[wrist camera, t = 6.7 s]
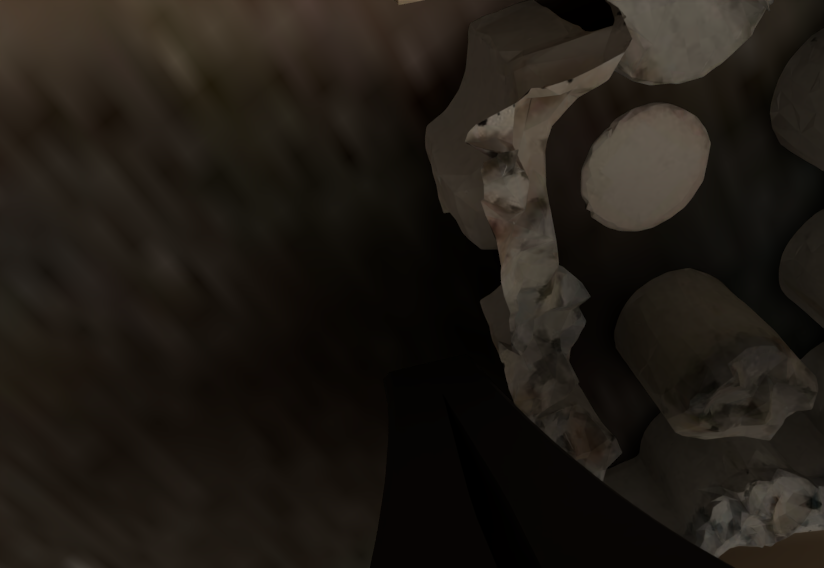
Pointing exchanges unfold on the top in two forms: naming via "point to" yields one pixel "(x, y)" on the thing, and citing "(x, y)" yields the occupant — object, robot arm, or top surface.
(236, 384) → the top surface
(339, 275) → the top surface
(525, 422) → the robot arm
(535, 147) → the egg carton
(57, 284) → the top surface
